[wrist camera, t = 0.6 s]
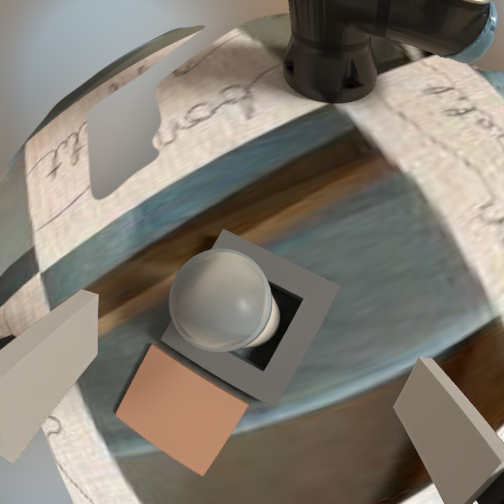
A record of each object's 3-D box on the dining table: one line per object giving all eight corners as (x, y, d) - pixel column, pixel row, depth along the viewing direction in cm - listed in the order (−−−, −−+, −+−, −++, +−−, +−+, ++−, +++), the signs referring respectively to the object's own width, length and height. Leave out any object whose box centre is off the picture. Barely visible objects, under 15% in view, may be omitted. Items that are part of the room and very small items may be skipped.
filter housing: (229, 237, 37) (223, 228, 34) (337, 291, 33) (340, 286, 31) (171, 340, 35) (160, 339, 32) (276, 402, 31) (274, 408, 28)
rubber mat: (155, 344, 35) (151, 344, 34) (249, 403, 31) (248, 404, 30) (119, 413, 33) (115, 415, 32) (205, 473, 29) (202, 476, 28)
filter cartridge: (240, 278, 36) (200, 232, 21) (293, 305, 34) (289, 276, 20) (211, 329, 34) (151, 318, 20) (263, 359, 32) (237, 371, 18)
